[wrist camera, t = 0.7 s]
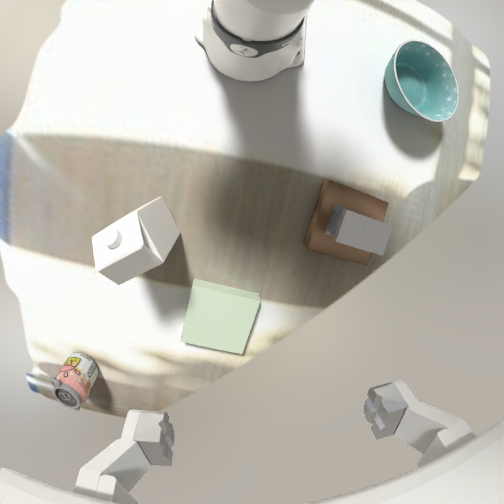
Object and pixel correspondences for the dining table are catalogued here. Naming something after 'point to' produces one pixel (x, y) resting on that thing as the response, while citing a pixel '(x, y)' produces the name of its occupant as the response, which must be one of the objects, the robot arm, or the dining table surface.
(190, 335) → the stand
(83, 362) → the beverage can
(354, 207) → the stand
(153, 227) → the milk carton
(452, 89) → the bowl
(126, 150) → the dining table surface
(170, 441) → the robot arm
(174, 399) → the dining table surface
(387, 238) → the block
